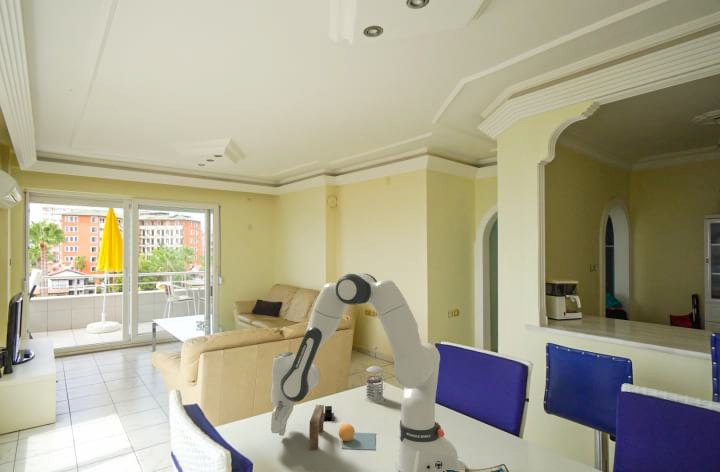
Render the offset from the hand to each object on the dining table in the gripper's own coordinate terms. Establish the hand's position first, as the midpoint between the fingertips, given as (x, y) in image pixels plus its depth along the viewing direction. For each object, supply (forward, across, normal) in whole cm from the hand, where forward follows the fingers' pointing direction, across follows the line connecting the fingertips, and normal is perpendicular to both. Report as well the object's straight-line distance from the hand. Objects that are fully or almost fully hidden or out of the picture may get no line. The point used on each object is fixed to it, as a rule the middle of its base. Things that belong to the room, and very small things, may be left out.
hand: (282, 433), depth 143 cm
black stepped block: (+2, +19, -15) cm, 24 cm away
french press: (+2, +40, -35) cm, 53 cm away
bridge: (+2, 0, -13) cm, 13 cm away
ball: (-1, 0, -24) cm, 24 cm away
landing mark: (+2, 0, -29) cm, 29 cm away
